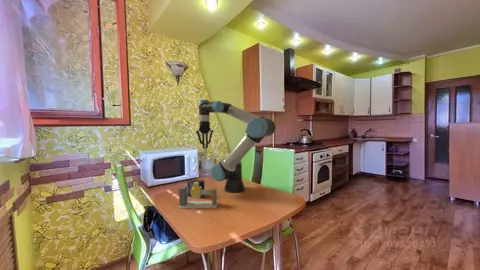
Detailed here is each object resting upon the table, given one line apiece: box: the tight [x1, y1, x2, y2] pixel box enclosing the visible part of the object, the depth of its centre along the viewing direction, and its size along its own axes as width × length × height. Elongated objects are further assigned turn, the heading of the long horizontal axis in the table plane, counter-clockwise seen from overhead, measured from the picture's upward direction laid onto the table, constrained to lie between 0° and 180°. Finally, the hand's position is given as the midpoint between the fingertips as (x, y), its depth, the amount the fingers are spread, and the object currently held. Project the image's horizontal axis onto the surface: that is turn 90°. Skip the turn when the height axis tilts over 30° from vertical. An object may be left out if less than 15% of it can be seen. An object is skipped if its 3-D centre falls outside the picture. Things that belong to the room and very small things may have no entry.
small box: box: [186, 179, 205, 199], centre depth 141 cm, size 11×6×10 cm, turn 62°
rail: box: [178, 185, 219, 209], centre depth 124 cm, size 22×9×11 cm, turn 88°
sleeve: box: [191, 182, 202, 199], centre depth 123 cm, size 5×5×9 cm
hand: (205, 153), depth 150 cm, fingers closed
